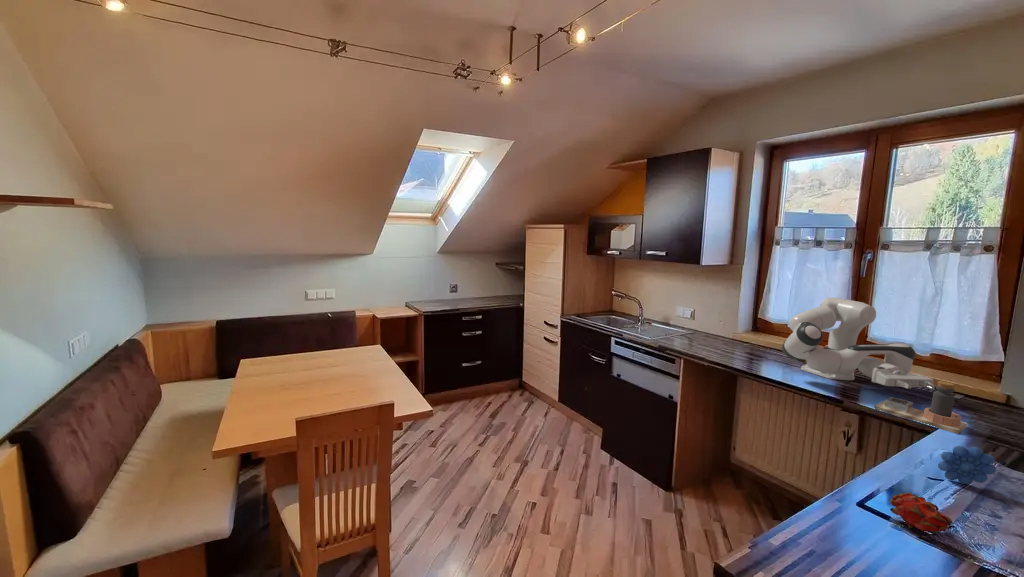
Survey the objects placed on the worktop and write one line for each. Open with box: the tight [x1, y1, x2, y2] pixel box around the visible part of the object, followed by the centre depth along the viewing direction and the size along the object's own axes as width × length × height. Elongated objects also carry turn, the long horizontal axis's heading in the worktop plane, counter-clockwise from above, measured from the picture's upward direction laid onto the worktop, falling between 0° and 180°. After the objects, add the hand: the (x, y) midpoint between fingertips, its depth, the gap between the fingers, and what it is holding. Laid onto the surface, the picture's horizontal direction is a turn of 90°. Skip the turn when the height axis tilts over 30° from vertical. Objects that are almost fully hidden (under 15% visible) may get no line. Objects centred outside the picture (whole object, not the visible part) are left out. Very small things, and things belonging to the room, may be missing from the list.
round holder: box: [923, 407, 962, 426], centre depth 170 cm, size 10×10×3 cm
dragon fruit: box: [889, 491, 955, 533], centre depth 109 cm, size 8×8×12 cm
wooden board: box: [874, 399, 968, 435], centre depth 176 cm, size 25×12×2 cm, turn 35°
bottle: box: [930, 380, 956, 417], centre depth 169 cm, size 6×6×15 cm
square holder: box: [885, 396, 914, 413], centre depth 181 cm, size 7×7×3 cm
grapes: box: [937, 445, 997, 486], centre depth 129 cm, size 12×7×12 cm, turn 54°
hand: (921, 387), depth 179 cm, fingers open, 8 cm apart
